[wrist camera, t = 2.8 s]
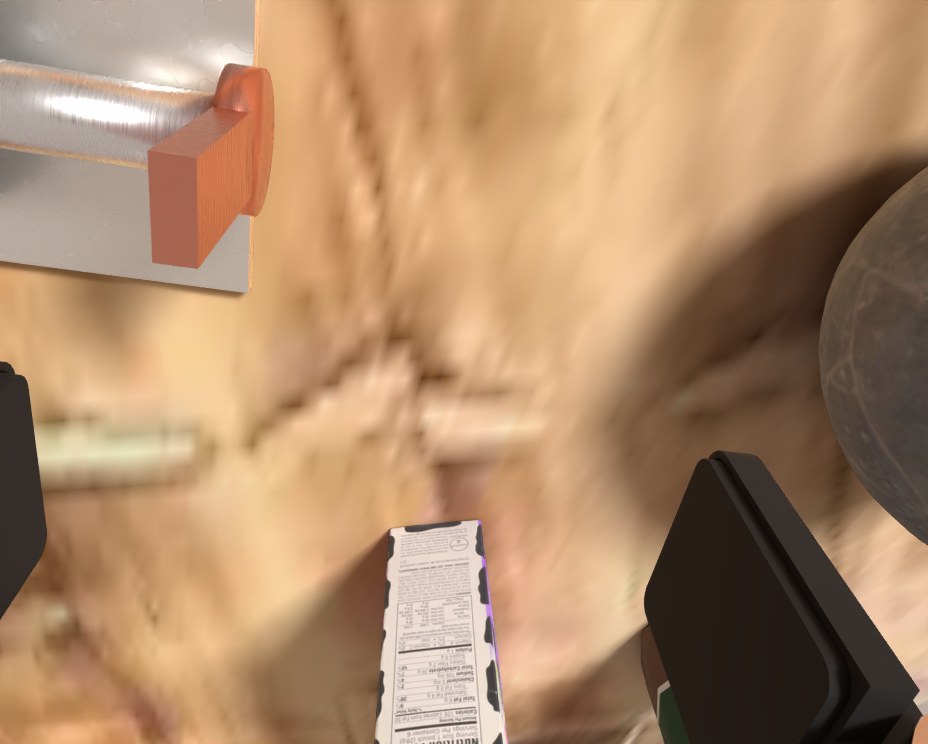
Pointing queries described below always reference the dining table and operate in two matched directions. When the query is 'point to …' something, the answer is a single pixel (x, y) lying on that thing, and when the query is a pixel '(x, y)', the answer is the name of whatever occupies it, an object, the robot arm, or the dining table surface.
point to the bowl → (883, 355)
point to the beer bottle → (661, 692)
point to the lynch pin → (154, 143)
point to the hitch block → (108, 186)
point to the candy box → (438, 640)
